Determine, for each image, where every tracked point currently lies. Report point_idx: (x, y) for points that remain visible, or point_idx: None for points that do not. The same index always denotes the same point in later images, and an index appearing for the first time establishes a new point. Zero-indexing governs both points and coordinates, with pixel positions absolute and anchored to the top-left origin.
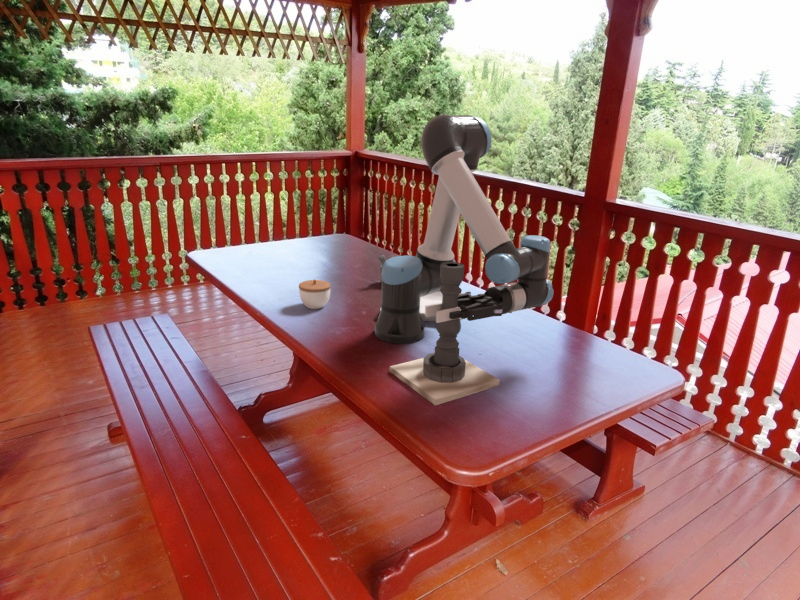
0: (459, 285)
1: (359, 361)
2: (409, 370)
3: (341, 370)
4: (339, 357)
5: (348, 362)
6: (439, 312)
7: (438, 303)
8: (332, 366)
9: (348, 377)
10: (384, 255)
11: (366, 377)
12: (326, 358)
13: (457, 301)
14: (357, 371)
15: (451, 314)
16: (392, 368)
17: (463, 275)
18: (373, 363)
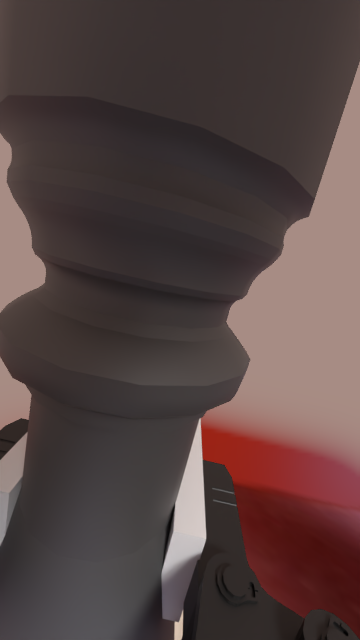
0: (32, 243)
1: (319, 572)
2: (182, 632)
3: (273, 503)
4: (347, 544)
5: (314, 542)
6: None
7: (194, 449)
8: (296, 501)
9: (238, 493)
10: None
11: None
12: (340, 516)
13: (27, 442)
14: (260, 526)
15: (26, 426)
16: None
17: (5, 32)
18: (301, 601)
